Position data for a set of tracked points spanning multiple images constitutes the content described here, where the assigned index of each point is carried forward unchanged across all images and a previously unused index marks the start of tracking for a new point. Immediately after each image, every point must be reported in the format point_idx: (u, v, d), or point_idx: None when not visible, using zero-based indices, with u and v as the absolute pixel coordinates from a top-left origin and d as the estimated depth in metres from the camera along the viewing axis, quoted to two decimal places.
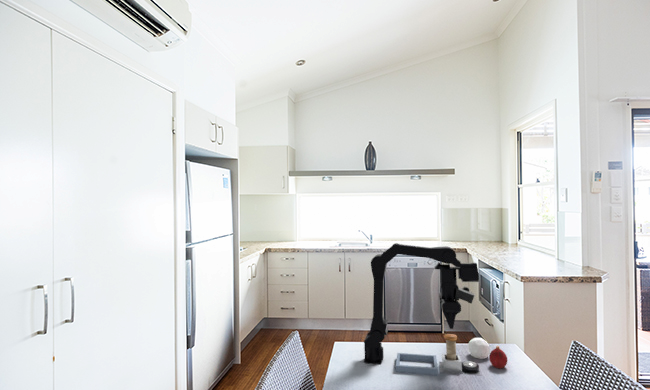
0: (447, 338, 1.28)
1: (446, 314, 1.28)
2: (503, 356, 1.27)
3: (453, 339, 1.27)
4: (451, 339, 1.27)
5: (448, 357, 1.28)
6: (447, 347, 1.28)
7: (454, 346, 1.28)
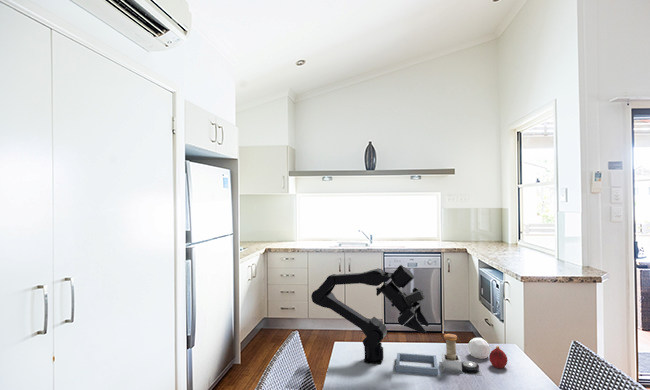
0: (447, 338, 1.28)
1: (410, 325, 1.28)
2: (503, 356, 1.27)
3: (453, 339, 1.27)
4: (451, 339, 1.27)
5: (448, 357, 1.28)
6: (447, 347, 1.28)
7: (454, 346, 1.28)
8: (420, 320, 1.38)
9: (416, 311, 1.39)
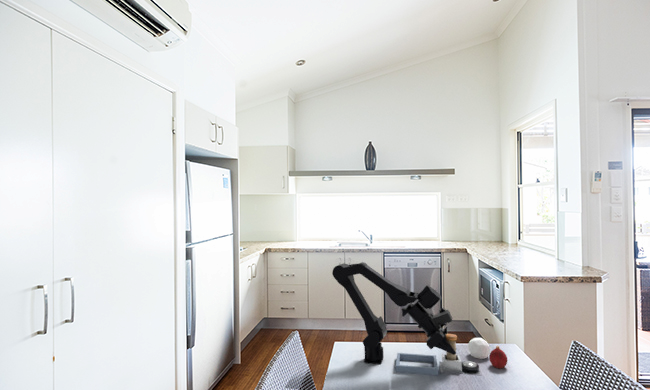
0: (447, 338, 1.28)
1: (439, 346, 1.27)
2: (503, 356, 1.27)
3: (453, 339, 1.27)
4: (451, 339, 1.27)
5: (448, 357, 1.28)
6: None
7: (454, 346, 1.28)
8: None
9: None
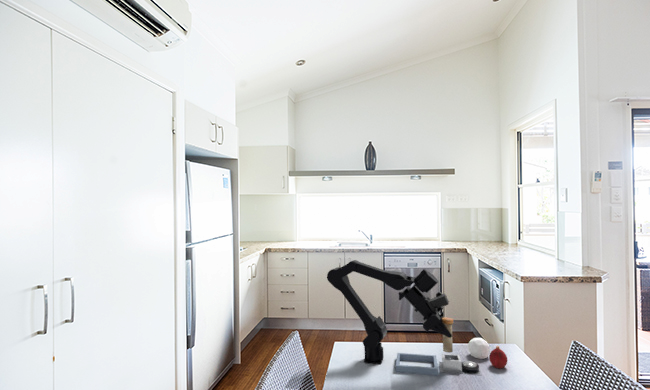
0: (443, 321, 1.28)
1: (436, 329, 1.27)
2: (503, 356, 1.27)
3: (449, 322, 1.27)
4: (447, 322, 1.27)
5: (444, 340, 1.28)
6: None
7: (450, 329, 1.28)
8: None
9: None
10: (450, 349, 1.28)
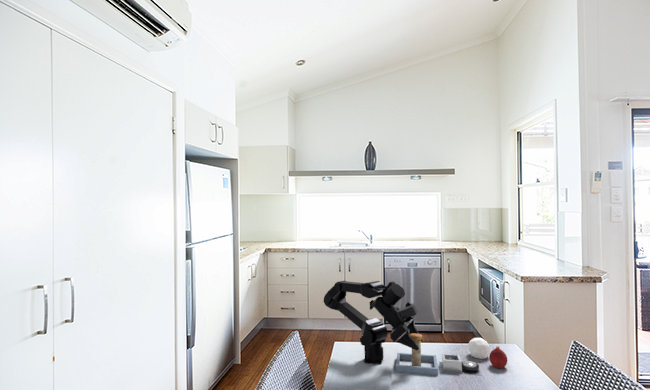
0: (412, 337, 1.30)
1: (402, 341, 1.26)
2: (503, 356, 1.27)
3: (418, 338, 1.29)
4: (416, 338, 1.29)
5: (413, 356, 1.30)
6: None
7: (419, 345, 1.29)
8: None
9: (409, 326, 1.37)
10: (418, 365, 1.29)
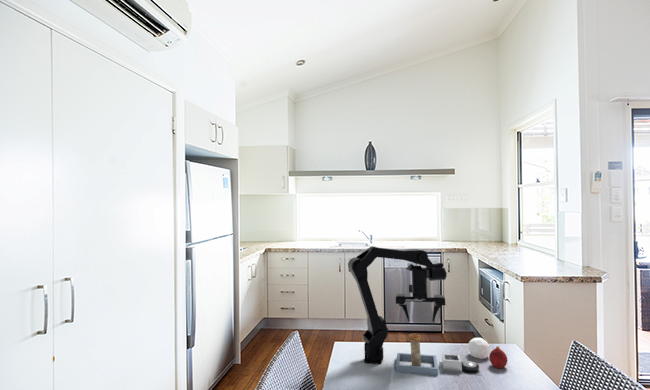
0: (411, 338, 1.29)
1: None
2: (503, 356, 1.27)
3: (416, 339, 1.29)
4: (415, 339, 1.29)
5: (412, 356, 1.30)
6: (411, 346, 1.30)
7: (418, 345, 1.29)
8: (408, 313, 1.44)
9: None
10: (418, 365, 1.29)
